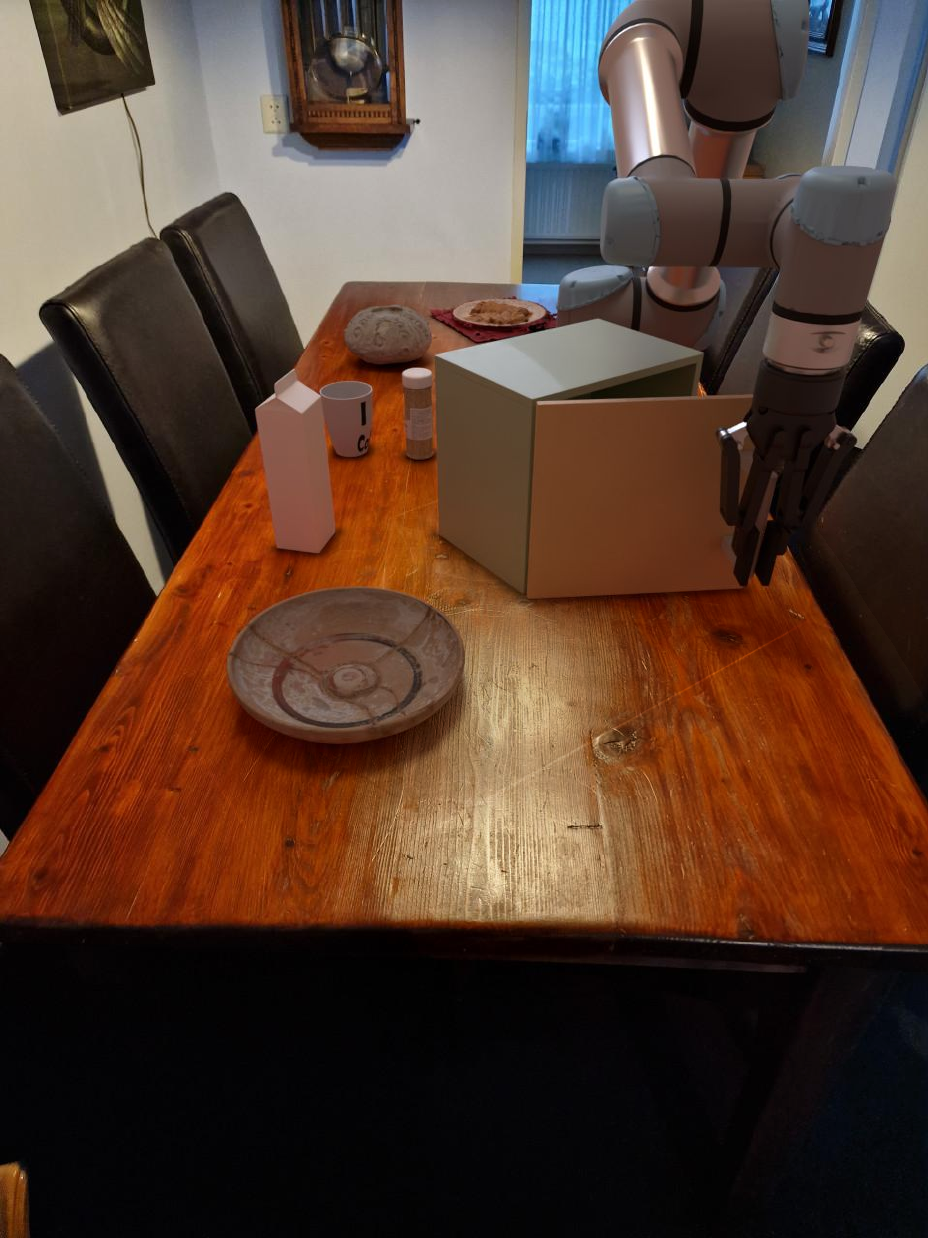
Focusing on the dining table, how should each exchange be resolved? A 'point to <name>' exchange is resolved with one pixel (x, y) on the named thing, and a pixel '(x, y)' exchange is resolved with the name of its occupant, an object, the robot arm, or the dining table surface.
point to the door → (634, 496)
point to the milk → (296, 466)
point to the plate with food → (496, 318)
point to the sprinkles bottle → (418, 413)
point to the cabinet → (530, 422)
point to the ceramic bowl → (346, 664)
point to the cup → (348, 416)
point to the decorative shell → (388, 335)
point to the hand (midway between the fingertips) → (750, 578)
